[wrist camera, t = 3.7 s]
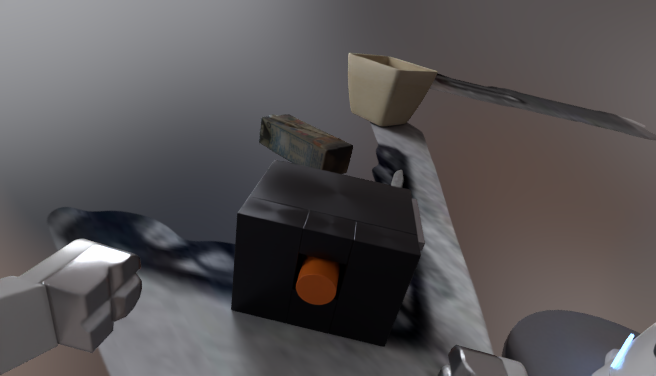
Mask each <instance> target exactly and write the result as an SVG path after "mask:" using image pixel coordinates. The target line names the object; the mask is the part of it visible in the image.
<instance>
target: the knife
mask: <svg viewBox="0 0 656 376" xmlns="http://www.w3.org/2000/svg"><path fill="white" fill-rule="evenodd" d="M402 185H403V172H402V170H399V171H397V172H396V173H395V174H394V176H393V180H392V183H391V186H396V187H400V188H402Z"/></svg>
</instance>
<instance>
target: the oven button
mask: <svg viewBox="0 0 656 376" xmlns="http://www.w3.org/2000/svg"><path fill="white" fill-rule="evenodd" d="M339 272H340V264H339V263H338V262H334V261H329V260H325V259H321V258H316V257H312V256H308V255H306V257H305V258H304V260H303V263H302V267H301V270H300V273H299V276H298V280H297V283H296V291H297V293H298V295H299V296H300V297H301V298H302V299H303V300H304V301H306V302H308V303H310V304H314V305H323V304H327V303H329V302H331V301H332V300H333V299H334V297H335V295H336V291H337V284H338V278H339Z"/></svg>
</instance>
